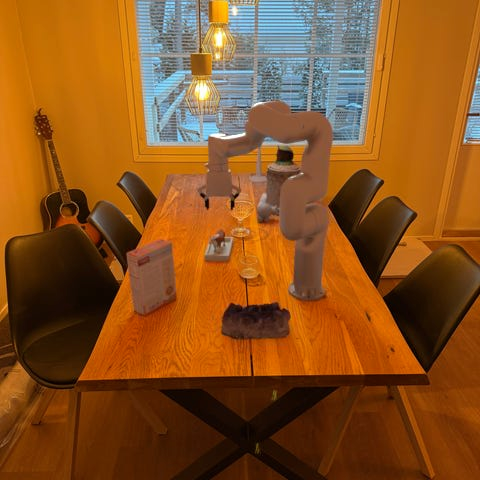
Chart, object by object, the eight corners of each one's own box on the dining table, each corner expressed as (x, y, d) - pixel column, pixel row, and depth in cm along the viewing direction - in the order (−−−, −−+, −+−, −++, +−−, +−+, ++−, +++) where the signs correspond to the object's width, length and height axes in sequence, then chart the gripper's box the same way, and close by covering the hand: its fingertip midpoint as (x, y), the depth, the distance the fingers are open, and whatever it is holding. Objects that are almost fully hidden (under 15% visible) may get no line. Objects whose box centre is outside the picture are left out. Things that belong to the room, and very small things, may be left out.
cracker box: (165, 293, 151) (160, 237, 143) (177, 299, 148) (173, 242, 139) (132, 310, 141) (125, 251, 133) (144, 317, 138) (138, 257, 129)
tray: (228, 261, 174) (228, 255, 173) (204, 260, 174) (204, 255, 173) (233, 242, 191) (233, 237, 190) (211, 241, 191) (211, 236, 190)
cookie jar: (304, 212, 226) (308, 150, 213) (257, 210, 229) (257, 149, 216) (305, 197, 248) (308, 140, 235) (262, 196, 252) (263, 139, 239)
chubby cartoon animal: (282, 223, 211) (283, 206, 208) (256, 223, 212) (256, 206, 208) (281, 218, 218) (282, 201, 215) (256, 218, 219) (256, 201, 215)
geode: (223, 347, 124) (220, 315, 121) (220, 328, 135) (217, 298, 132) (293, 339, 126) (293, 307, 123) (285, 321, 137) (284, 292, 134)
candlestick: (259, 176, 291) (260, 130, 279) (272, 180, 282) (274, 132, 270) (244, 179, 283) (244, 132, 271) (258, 183, 274) (258, 135, 262)
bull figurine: (207, 256, 177) (206, 237, 173) (218, 243, 188) (218, 225, 185) (217, 257, 175) (216, 238, 172) (228, 244, 187) (228, 226, 184)
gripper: (194, 169, 166) (196, 212, 172) (240, 169, 165) (240, 212, 171) (197, 164, 173) (199, 205, 179) (241, 164, 171) (242, 206, 178)
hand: (219, 209), depth 175 cm, fingers open, 9 cm apart
